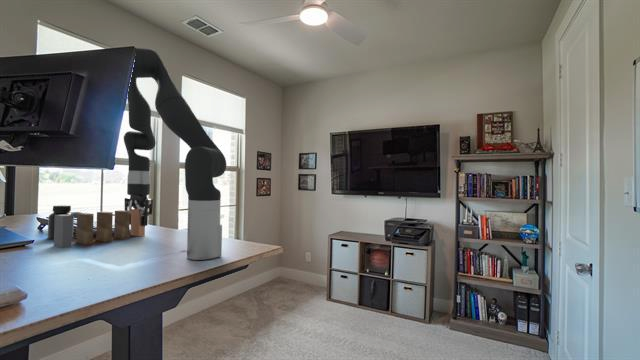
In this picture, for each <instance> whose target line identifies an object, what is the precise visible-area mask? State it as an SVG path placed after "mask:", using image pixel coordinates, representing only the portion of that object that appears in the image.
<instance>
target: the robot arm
mask: <svg viewBox="0 0 640 360" xmlns="http://www.w3.org/2000/svg"><path fill="white" fill-rule="evenodd" d="M135 48H136V56H135V62H134V67H133V72H132V77H131V82H130V86H129V91H128V97H127V96H126V99H127V104H128V105H127V106H128V124H129V127H130V128H131V129H132V130H133V131H132V130H128V131H125V133H124V135H123V142H124V146H125V150H126V152H127V157H128V173H127V181H126V182H127V183H126V184H127V189H126V193H127V194H126V195H128V196H130V197H125V198H124V211H130V224H129V226H131V210H133V209H138V211H140V213H141V226H145V227H146V226H148V221H149V219H148V218H149V216H150V215H153V209H154V207H153V206H154V204H153V203H154V199H152V198H148V195H150V193H151V192H150V191H151V190H150V188H151V173H150V172H151V171H150V167H151V166H150V165H151V160H150V157H148V156H144V155H141V154H138V153H136V151H135V150H139V151H151V150H153V149H154V148H155V147H156V137H155V135H154V133H153V129H152V110H151V106H150V104H149V102H148V101H147V99H146V98H145V97H144V96H143V94H142V93H141V91H140V89H139V87H138V85H137V79H138V78H139V79H140V78H141V79H145V78H150V79H151V78H152V79H153V80H154V82H155V83H156V84H157V91H156V95H155V101H154V108H155V109H156V111H157V114H158V115H159V117H160V119H161V120H162V121H163V123H164V124H165V125H166V127H167V128H168V129H169V130H170V131H171V132H172V133H173V134H175V135H176V136H177V137H178V138H179V139H181V140H182V141H183V142H184V143H185V144H186V145H187V146H188V147H189V148H190V149H189V150H188V152H187V154H186V156H185V159H184V181H185V182H184V183H185V191H186V194H187V236H186V237H187V238H186V239H187V240H186V244H187V245H186V258H187V259H189V260H194V261H195V260H196V261H199V260H201V261H203V260H211V259H216V258H218V257H222V255H223V254H222V250H223V249H222V246H223V245H222V244H223V243H222V242H223V225H222V224H221V204H222V203H221V201H222V200H221V199H222V198H221V197H222V196H221V191H220V189H218V188H216V186H215V184H214V179H215V178H218V177H221V176H222V175H224V174H225V172H226V170H227V160H226V159H227V158H226V157H225V155H224V153H223V152H222V151H221V150H220V149H219V147H218V145H217V144H215V142H214V140H212V139H211V137H210V136H209V135H208V134H207V132H206V130H205V129H204V127H203V126H202V124H201V123H200V121H199V120H198V118H197V117H196V115H195V113H194V112H193V110H192V108H191V107H190V105H189V104H188V102H187V101H186V99H185V98H184V96H183V95H182V93H181V92H180V91H179V89H178V87H177V86H176V84H175V83H174V81H173V79H172V77H171V76H170V74H169V72H168V69H167V68H166V66H165V64H164V62H163V60H162V58H161V57H160V55H159V54H158V53H157V52H156V50H154V49H152V48H145V47H135ZM143 211H144V212H143Z"/></svg>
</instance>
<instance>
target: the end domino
mask: <svg viewBox="0 0 640 360" xmlns="http://www.w3.org/2000/svg"><path fill="white" fill-rule="evenodd" d="M72 239H73V237H72V215H55V224H54V240H53V247H56V248H60V249H65V248H71V247H72Z"/></svg>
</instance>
